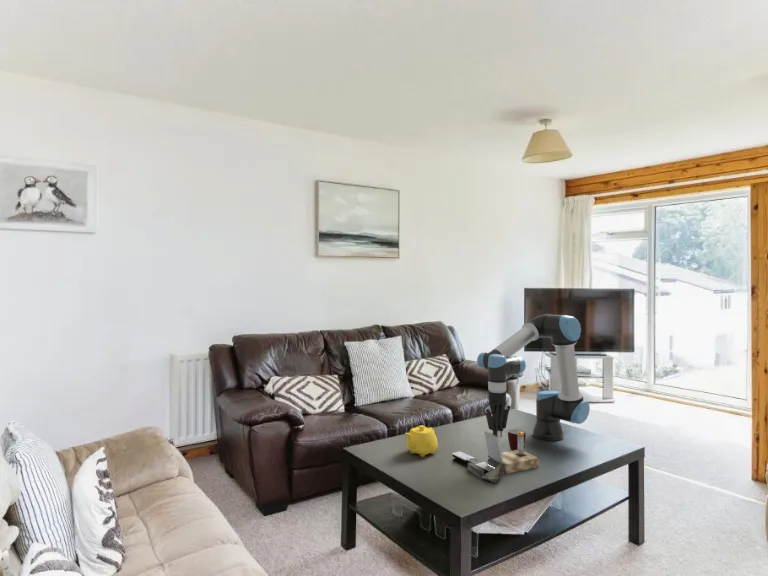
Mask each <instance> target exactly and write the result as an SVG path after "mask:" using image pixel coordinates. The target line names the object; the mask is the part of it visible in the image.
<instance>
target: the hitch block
mask: <svg viewBox="0 0 768 576" xmlns="http://www.w3.org/2000/svg"><path fill="white" fill-rule="evenodd" d="M501 452H502V451H501ZM502 458H503V462H504V463H505V464H504V465H502V464H501V465H502V467H503V468H502V469H503V474H511V473H516V472H521V471H526V470H532V469H535V468H539V457H537V456H536V455H534V454H531V453H529V452H527V451H524V456H523V457H519V456H518V450H513V451H511V450H508V451H503V452H502ZM488 464H489V465H491V466H493V467H495V468H496V467H498V465H499V464H500V463H498V462H496V461H494V460H492V459H490V458H489V457H488V458H487V465H488ZM467 471H469V472H470V473H472V474H473V475H475V476H476V477H478V478H481V479H482V476H484V475H485V470H484V469H483V468H481V466H478V465H476V464H474V463H473V462H467Z"/></svg>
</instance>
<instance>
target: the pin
mask: <svg viewBox="0 0 768 576" xmlns="http://www.w3.org/2000/svg"><path fill="white" fill-rule="evenodd" d="M524 445H525V444H524V432H518V456H519V457H523V456H524V450H525V448H524Z"/></svg>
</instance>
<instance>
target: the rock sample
mask: <svg viewBox="0 0 768 576" xmlns="http://www.w3.org/2000/svg"><path fill="white" fill-rule="evenodd" d="M502 468H503V467H502V465H501V464H499V465H498V467H496V468H495V469H492V470H489V471H488V472H486V473H484V476H482V477H481V479H483V480H484V481H490V482H492V483H493V484H497V482H498V481H499V479H500V478H501V477H502V476H503V474H504V473H503V469H502Z"/></svg>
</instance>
